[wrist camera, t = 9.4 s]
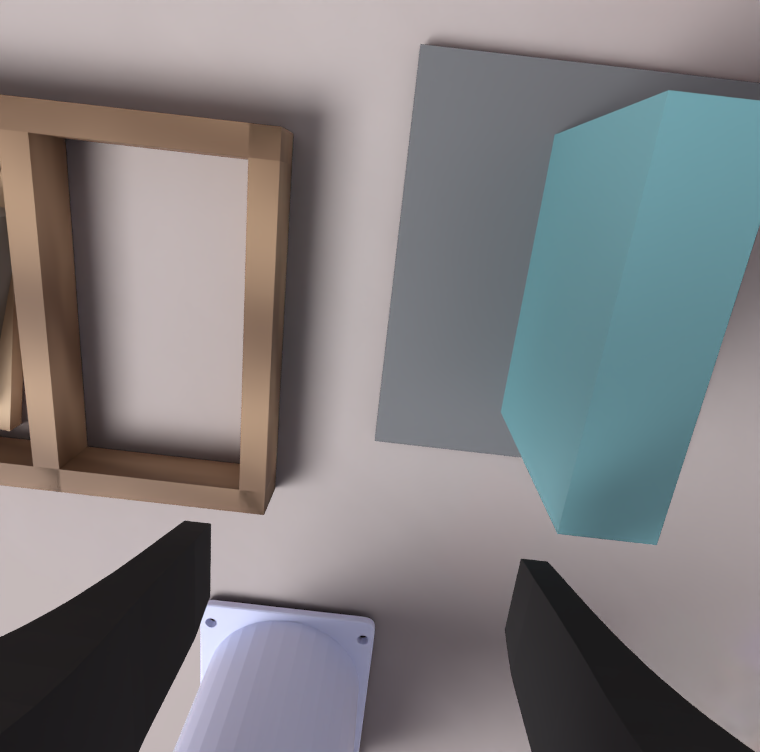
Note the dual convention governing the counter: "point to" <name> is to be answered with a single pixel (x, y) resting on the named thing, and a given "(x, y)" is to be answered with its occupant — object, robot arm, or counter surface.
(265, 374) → the rack
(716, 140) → the teal rectangular block
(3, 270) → the offcut top
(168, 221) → the counter surface
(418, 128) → the mat
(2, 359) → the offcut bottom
